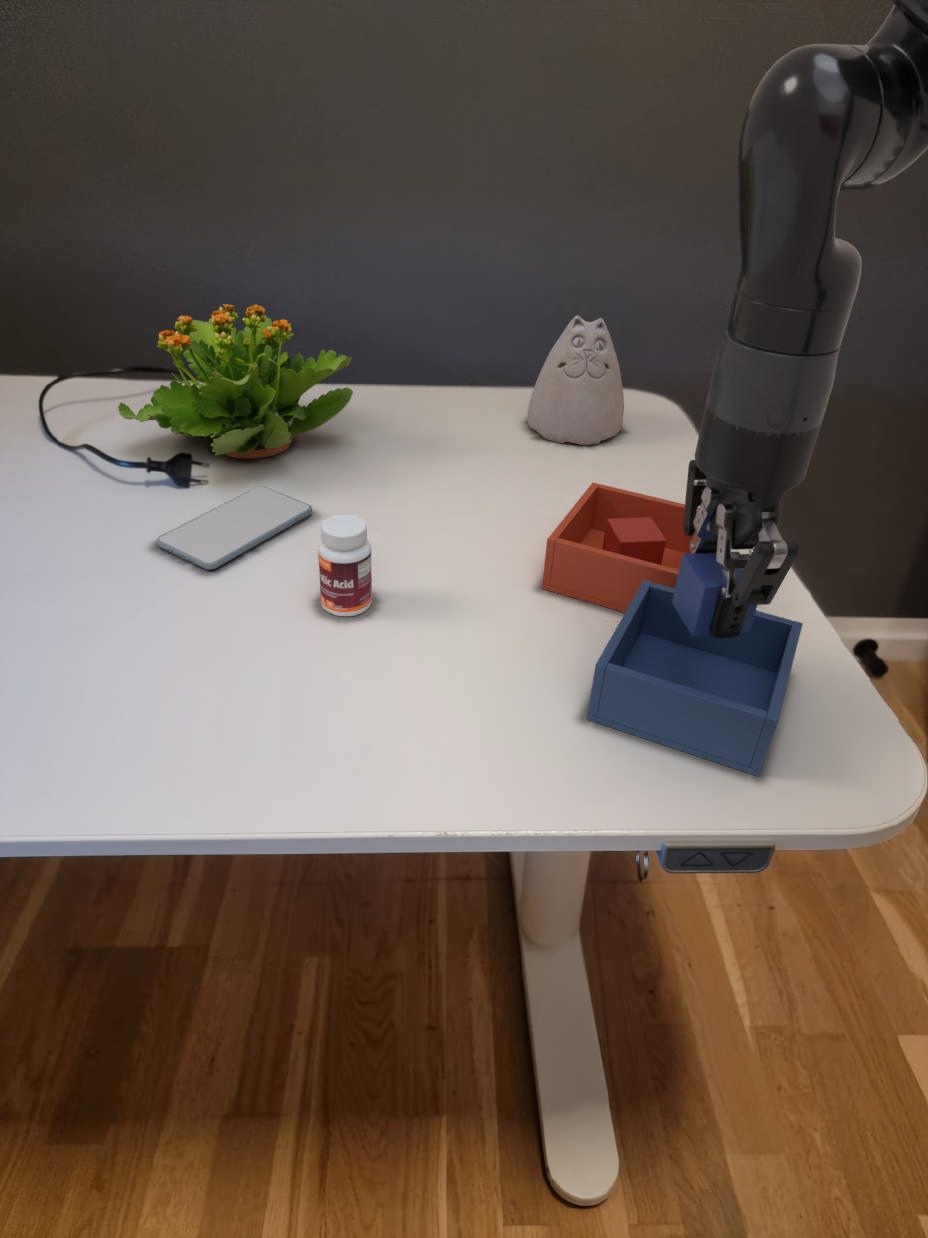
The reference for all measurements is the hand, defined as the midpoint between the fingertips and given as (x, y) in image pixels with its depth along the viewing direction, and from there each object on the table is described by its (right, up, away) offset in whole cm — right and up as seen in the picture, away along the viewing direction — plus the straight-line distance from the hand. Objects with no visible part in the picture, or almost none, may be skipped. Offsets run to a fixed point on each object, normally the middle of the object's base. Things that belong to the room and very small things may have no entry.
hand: (710, 614), depth 67 cm
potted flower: (-45, +22, +41) cm, 65 cm away
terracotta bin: (-3, +4, +20) cm, 21 cm away
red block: (-3, +5, +20) cm, 20 cm away
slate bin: (0, -7, +5) cm, 8 cm away
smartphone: (-43, +9, +24) cm, 50 cm away
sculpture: (-4, +25, +49) cm, 56 cm away
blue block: (0, 0, 0) cm, 0 cm away
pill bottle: (-30, +1, +14) cm, 33 cm away
